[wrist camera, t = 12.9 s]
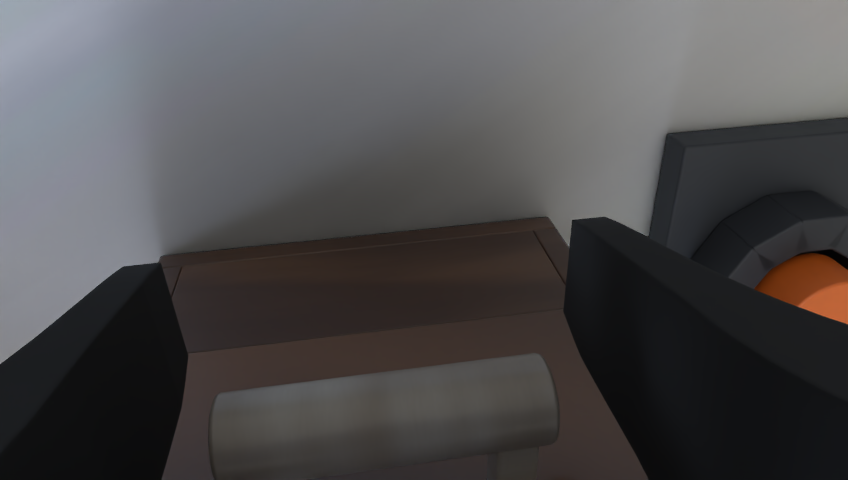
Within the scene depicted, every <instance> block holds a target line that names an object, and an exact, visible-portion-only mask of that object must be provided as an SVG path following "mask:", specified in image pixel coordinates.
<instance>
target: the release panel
mask: <svg viewBox="0 0 848 480" xmlns="http://www.w3.org/2000/svg"><path fill="white" fill-rule="evenodd" d="M649 238H650V239H652V240H654V241H656V242H658V243H660V244H662V245H664V246H666V247H668V248H669V249H671V250H673V251H675V252H677V253H679V254H681V255H683V256H685V257H687V258H689V259H691V260H693V261H695V262H697V263H699V264H701V265H703V266H705V267H707V268H709V269H711V270H713V271H715V272H717V273H719V274H722V275H724V276H726V277H728V278H730V279H733V280H735V281H737V282H739V283H741V284H744V285H746V286H748V287H750V288H753V289H754V288H755V287H756V286H757V285H758V284H759V282H760V281H761V280H762V279H763V278H764V277H765V276H766V275H767V273H768V272H769V271H770V270H771V269H772V268H774V267H776V266H778V265H779V264H781V263H783V262H785V261H787V260H788V259H790V258H792V257H794V256H797V255H800V254H806V253H818V254H823V255H826V256H829V257H830V258H832V259H833V260H835V261H836V262H837V263H839V264H840V265H841V266H843V267H844V268H845V269H847V270H848V118H842V119H830V120H819V121H808V122H797V123H785V124H774V125H763V126H751V127H740V128H729V129H717V130H706V131H695V132H683V133H672V134H668V135H667V139H666V145H665V151H664V156H663V162H662V168H661V173H660V179H659V185H658V190H657V196H656V202H655V207H654V213H653V219H652V224H651V230H650V236H649Z"/></svg>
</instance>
